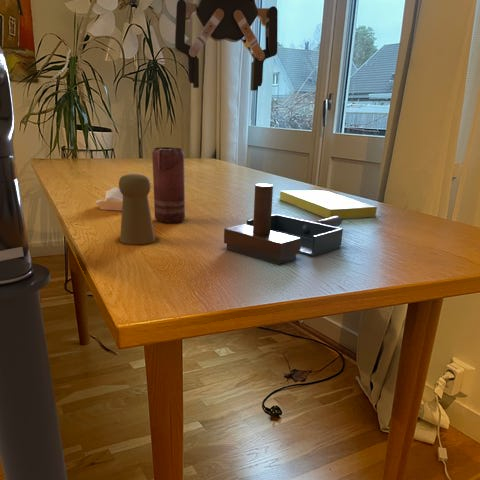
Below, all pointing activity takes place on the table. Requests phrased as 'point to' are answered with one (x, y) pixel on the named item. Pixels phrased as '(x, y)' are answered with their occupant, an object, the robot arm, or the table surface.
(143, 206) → the cork
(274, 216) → the dustpan
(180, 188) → the can
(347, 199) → the yellow foam board
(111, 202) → the pale pink lumpy piece
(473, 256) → the table surface
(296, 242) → the stamp
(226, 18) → the robot arm
